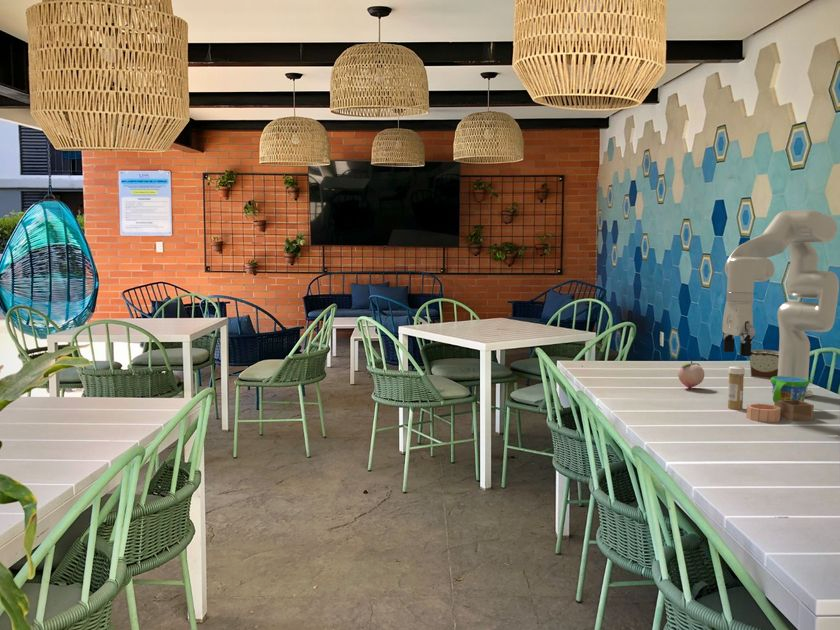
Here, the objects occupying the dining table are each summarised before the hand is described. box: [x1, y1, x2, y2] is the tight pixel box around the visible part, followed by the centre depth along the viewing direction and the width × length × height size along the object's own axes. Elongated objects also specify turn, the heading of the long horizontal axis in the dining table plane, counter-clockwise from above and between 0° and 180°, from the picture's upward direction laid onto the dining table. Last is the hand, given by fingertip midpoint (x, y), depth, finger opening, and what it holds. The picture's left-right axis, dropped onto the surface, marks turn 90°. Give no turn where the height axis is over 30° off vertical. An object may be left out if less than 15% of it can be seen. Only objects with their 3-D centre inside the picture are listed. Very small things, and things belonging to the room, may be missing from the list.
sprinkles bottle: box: [727, 365, 746, 411], centre depth 252 cm, size 5×5×14 cm
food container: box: [749, 349, 779, 379], centre depth 312 cm, size 12×6×10 cm, turn 58°
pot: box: [745, 403, 781, 423], centre depth 239 cm, size 9×9×4 cm
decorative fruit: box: [677, 360, 705, 389], centre depth 287 cm, size 9×8×10 cm
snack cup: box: [770, 376, 810, 406], centre depth 251 cm, size 16×10×10 cm
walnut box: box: [777, 400, 815, 422], centre depth 240 cm, size 7×7×5 cm
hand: (736, 353), depth 250 cm, fingers open, 9 cm apart
